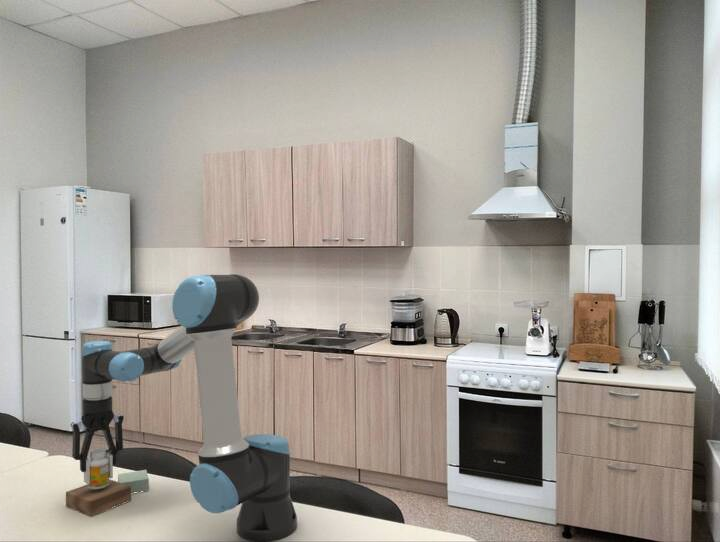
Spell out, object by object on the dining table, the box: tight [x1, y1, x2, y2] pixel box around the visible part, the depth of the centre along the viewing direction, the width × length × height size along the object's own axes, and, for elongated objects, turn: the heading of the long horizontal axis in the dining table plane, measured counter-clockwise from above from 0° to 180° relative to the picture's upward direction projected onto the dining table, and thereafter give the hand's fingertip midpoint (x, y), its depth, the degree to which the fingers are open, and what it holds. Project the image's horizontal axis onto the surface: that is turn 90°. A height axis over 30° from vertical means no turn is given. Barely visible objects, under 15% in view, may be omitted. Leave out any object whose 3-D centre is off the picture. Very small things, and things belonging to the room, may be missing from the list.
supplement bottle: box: [88, 448, 110, 489], centre depth 158 cm, size 5×5×10 cm
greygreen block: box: [117, 469, 150, 493], centre depth 169 cm, size 8×8×4 cm
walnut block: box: [65, 478, 132, 518], centre depth 158 cm, size 12×12×4 cm
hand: (98, 479), depth 158 cm, fingers closed on supplement bottle, 5 cm apart
